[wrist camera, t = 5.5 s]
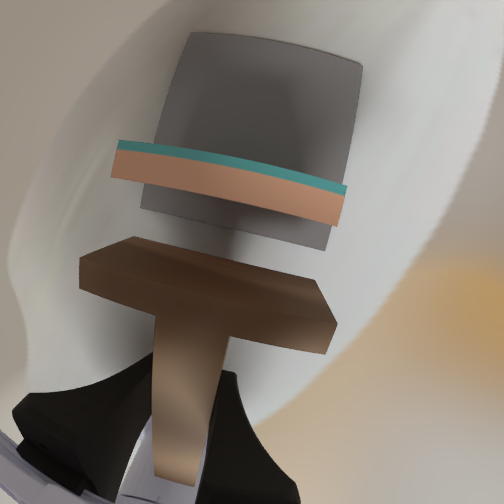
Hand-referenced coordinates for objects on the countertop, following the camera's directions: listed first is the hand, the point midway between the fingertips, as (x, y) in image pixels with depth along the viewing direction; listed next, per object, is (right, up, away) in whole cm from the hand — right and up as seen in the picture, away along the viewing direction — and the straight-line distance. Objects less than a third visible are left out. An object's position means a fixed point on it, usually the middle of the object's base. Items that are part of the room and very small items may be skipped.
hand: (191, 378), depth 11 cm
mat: (+3, +13, +4) cm, 14 cm away
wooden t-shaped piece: (0, -1, +3) cm, 3 cm away
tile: (+2, +9, +4) cm, 10 cm away
